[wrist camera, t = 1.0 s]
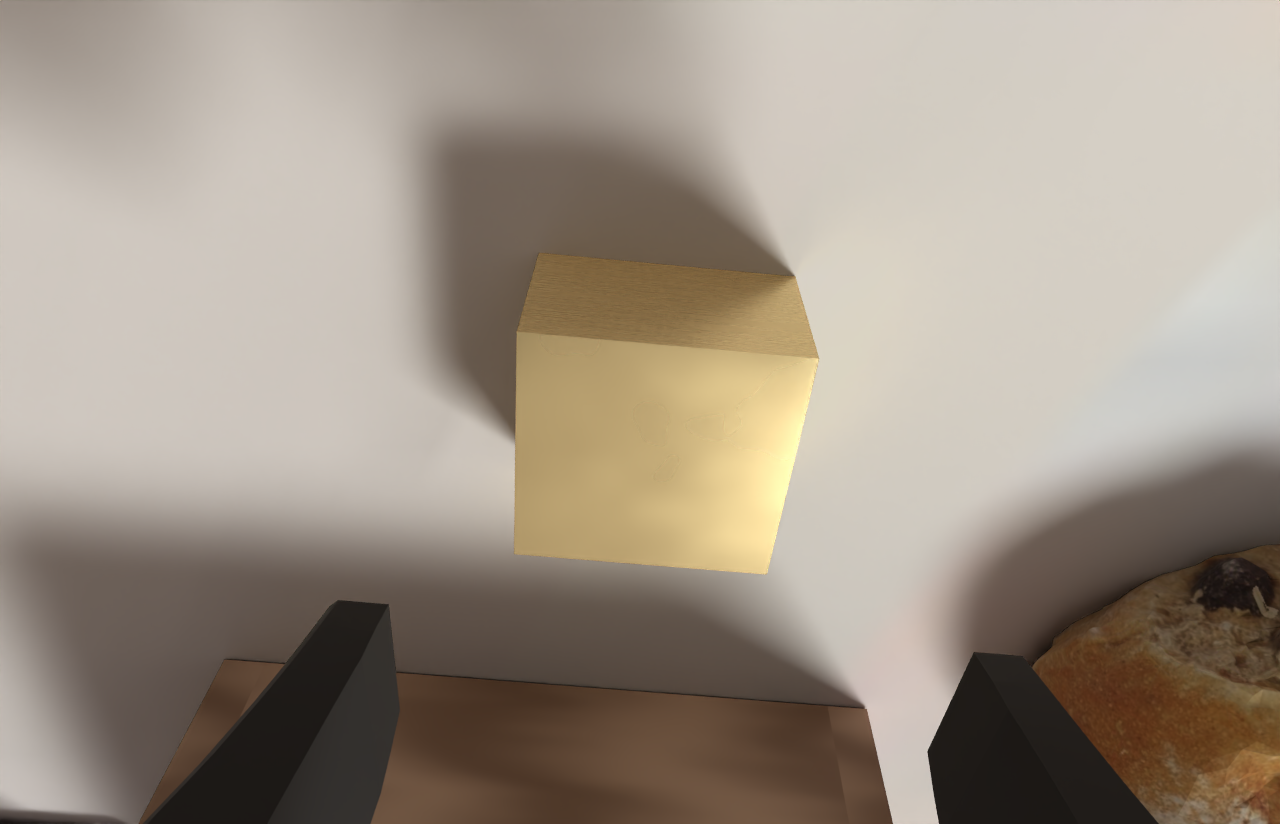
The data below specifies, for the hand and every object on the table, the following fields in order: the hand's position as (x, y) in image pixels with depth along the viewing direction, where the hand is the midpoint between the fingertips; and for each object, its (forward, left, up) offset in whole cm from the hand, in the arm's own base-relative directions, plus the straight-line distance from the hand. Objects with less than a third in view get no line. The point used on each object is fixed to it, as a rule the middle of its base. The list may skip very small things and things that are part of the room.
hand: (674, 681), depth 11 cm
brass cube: (0, 0, -7) cm, 7 cm away
